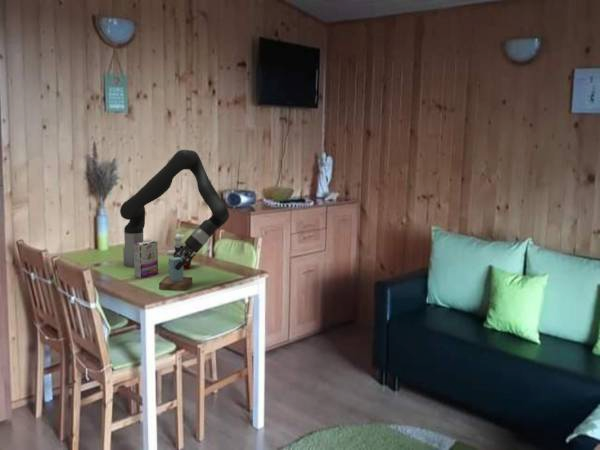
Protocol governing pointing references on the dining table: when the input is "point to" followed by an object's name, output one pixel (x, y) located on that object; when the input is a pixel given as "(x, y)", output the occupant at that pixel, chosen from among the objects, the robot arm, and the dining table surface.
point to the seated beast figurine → (177, 240)
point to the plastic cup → (176, 253)
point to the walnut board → (175, 284)
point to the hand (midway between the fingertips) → (173, 267)
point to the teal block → (173, 273)
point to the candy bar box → (145, 259)
